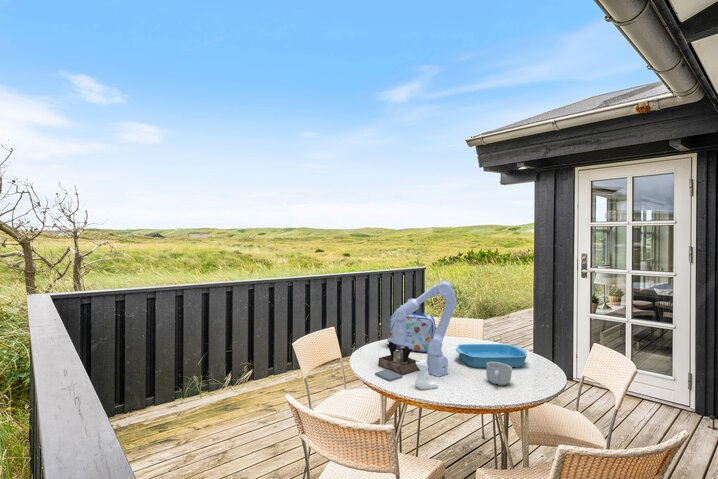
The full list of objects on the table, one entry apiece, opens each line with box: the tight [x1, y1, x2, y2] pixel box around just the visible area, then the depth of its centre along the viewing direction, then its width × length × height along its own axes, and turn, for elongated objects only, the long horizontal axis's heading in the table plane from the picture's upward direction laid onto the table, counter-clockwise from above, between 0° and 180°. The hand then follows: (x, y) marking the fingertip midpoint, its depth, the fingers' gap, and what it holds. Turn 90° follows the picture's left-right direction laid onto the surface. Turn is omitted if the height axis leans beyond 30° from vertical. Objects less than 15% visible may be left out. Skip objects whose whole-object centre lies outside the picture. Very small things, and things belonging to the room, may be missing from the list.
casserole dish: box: [455, 343, 528, 369], centre depth 195 cm, size 37×22×7 cm, turn 94°
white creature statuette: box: [415, 359, 439, 391], centre depth 160 cm, size 10×9×12 cm
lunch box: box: [388, 312, 437, 353], centre depth 214 cm, size 28×10×22 cm, turn 73°
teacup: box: [485, 362, 513, 386], centre depth 166 cm, size 14×11×8 cm
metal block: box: [394, 349, 404, 364], centre depth 183 cm, size 4×4×5 cm
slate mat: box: [374, 369, 403, 383], centre depth 172 cm, size 10×8×1 cm
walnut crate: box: [378, 354, 420, 376], centre depth 183 cm, size 16×13×4 cm
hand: (399, 359), depth 183 cm, fingers open, 7 cm apart
